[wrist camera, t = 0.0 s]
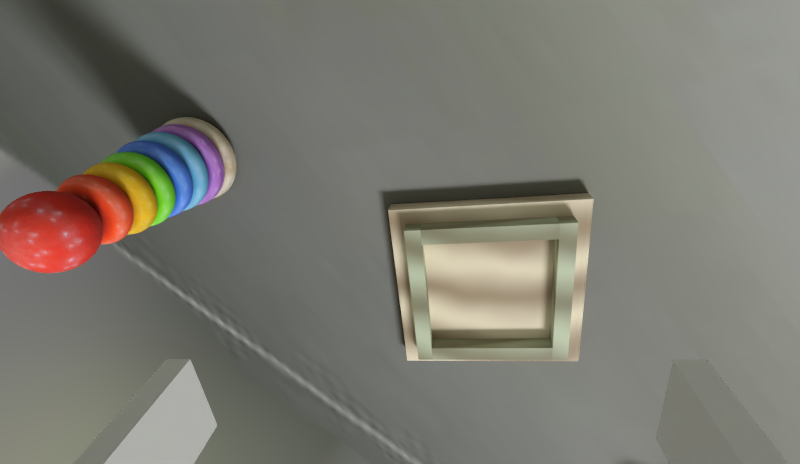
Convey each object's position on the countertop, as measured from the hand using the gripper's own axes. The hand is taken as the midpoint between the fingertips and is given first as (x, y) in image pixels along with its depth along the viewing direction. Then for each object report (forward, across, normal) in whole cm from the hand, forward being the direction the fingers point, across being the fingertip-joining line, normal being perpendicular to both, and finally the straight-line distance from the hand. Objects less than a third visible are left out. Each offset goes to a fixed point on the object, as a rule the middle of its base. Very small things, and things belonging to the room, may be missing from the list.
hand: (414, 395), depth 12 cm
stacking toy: (+28, -23, +1) cm, 37 cm away
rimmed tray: (+28, +4, -14) cm, 31 cm away
